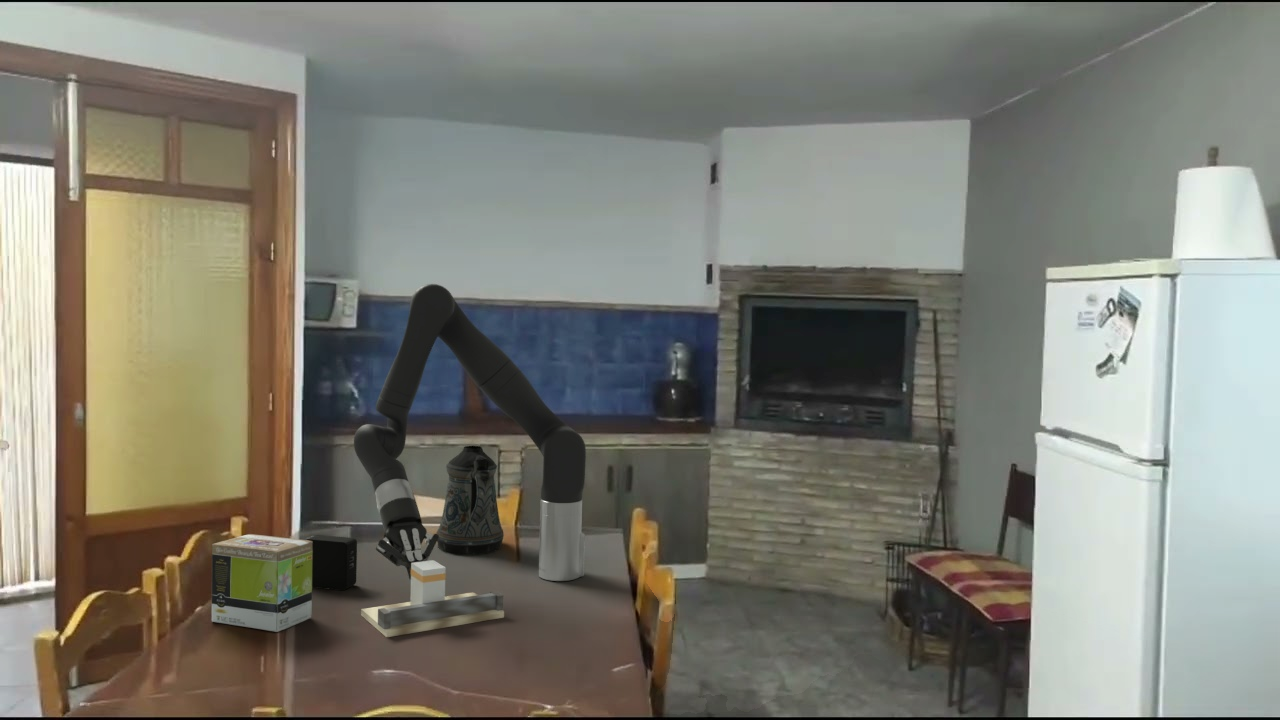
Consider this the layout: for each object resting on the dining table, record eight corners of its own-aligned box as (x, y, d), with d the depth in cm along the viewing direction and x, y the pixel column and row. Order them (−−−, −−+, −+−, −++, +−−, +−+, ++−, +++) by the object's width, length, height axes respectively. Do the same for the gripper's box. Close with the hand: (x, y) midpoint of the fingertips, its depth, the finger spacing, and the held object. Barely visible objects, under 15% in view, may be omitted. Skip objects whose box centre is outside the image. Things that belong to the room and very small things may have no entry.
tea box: (313, 617, 175) (315, 539, 175) (276, 634, 166) (277, 551, 165) (248, 607, 180) (249, 531, 180) (208, 622, 171) (209, 542, 170)
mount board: (474, 597, 191) (474, 578, 191) (504, 617, 179) (505, 596, 179) (359, 615, 177) (360, 594, 177) (385, 637, 166) (385, 615, 166)
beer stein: (470, 535, 244) (473, 440, 243) (525, 548, 233) (528, 448, 232) (421, 547, 231) (423, 446, 230) (477, 561, 219) (480, 454, 218)
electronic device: (346, 590, 193) (347, 542, 192) (302, 586, 195) (303, 538, 194) (356, 585, 197) (357, 538, 197) (313, 581, 199) (313, 534, 199)
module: (431, 605, 181) (432, 559, 181) (444, 614, 176) (445, 567, 175) (409, 609, 178) (410, 562, 178) (421, 618, 173) (422, 570, 173)
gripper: (370, 498, 185) (391, 575, 175) (433, 493, 193) (456, 566, 183) (360, 520, 190) (380, 596, 180) (423, 514, 197) (445, 586, 188)
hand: (419, 581), depth 182 cm, fingers closed
